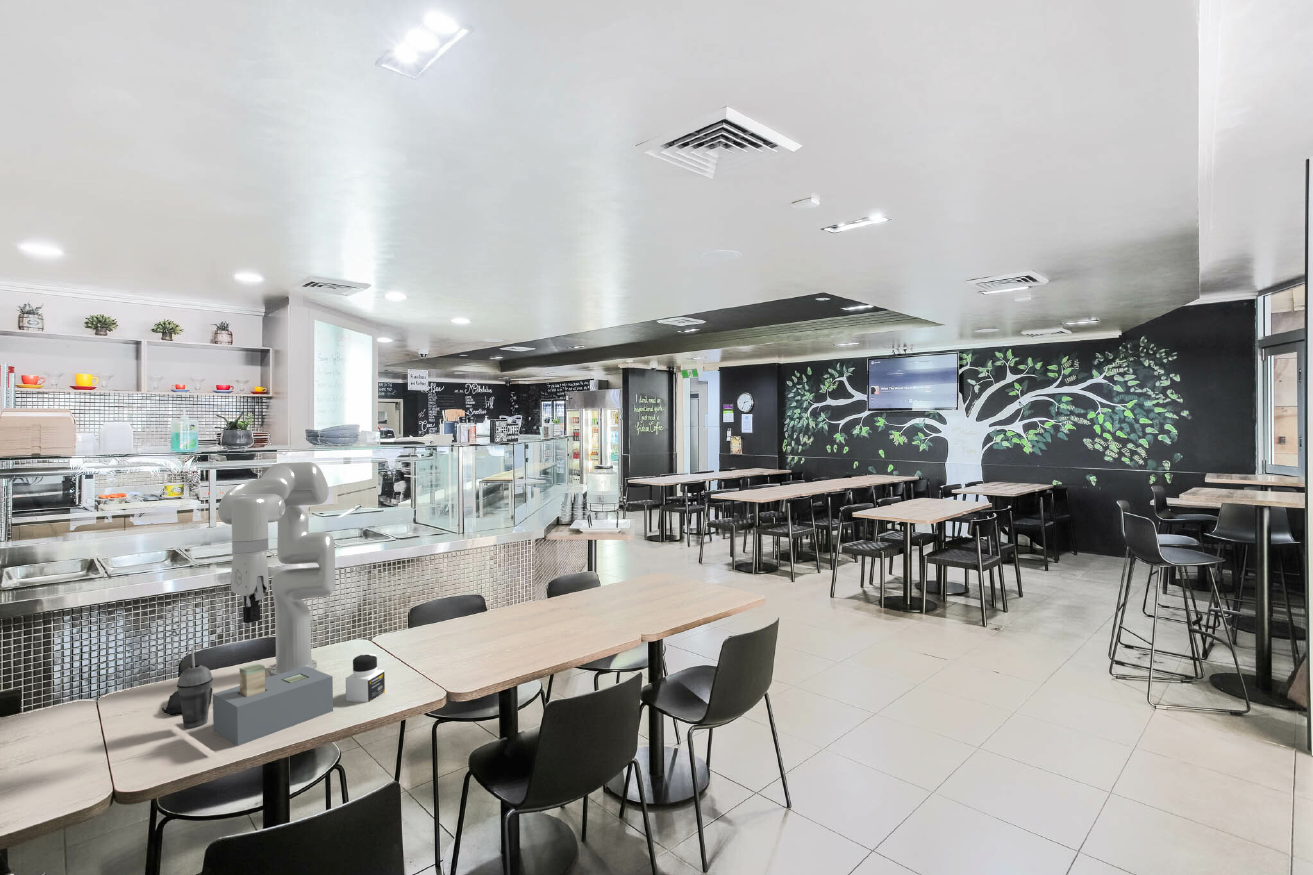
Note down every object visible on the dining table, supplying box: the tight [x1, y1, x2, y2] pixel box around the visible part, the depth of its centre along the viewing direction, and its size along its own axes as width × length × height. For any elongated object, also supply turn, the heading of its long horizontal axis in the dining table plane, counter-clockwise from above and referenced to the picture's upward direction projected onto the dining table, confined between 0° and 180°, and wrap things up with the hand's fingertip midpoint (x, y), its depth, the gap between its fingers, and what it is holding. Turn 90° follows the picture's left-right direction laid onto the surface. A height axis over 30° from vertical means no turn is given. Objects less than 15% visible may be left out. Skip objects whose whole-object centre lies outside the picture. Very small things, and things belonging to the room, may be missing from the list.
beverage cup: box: [176, 646, 214, 730], centre depth 156 cm, size 7×7×20 cm
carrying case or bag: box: [161, 686, 214, 717], centre depth 170 cm, size 11×3×15 cm
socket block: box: [212, 666, 334, 747], centre depth 157 cm, size 14×22×10 cm, turn 145°
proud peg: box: [239, 662, 266, 697], centre depth 153 cm, size 4×4×9 cm
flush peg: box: [283, 674, 307, 683], centre depth 161 cm, size 4×4×9 cm
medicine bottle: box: [345, 653, 386, 703], centre depth 171 cm, size 7×7×12 cm
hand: (251, 621), depth 153 cm, fingers closed
